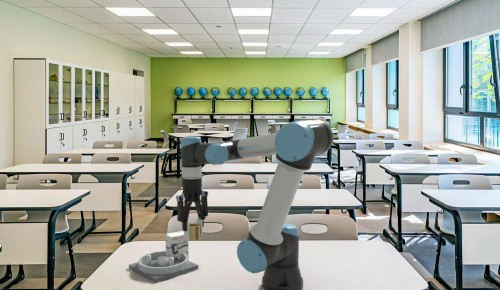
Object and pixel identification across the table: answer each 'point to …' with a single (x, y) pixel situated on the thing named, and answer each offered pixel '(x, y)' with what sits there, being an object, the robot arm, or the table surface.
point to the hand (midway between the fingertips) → (193, 237)
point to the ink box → (176, 245)
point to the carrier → (162, 266)
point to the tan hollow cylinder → (194, 231)
